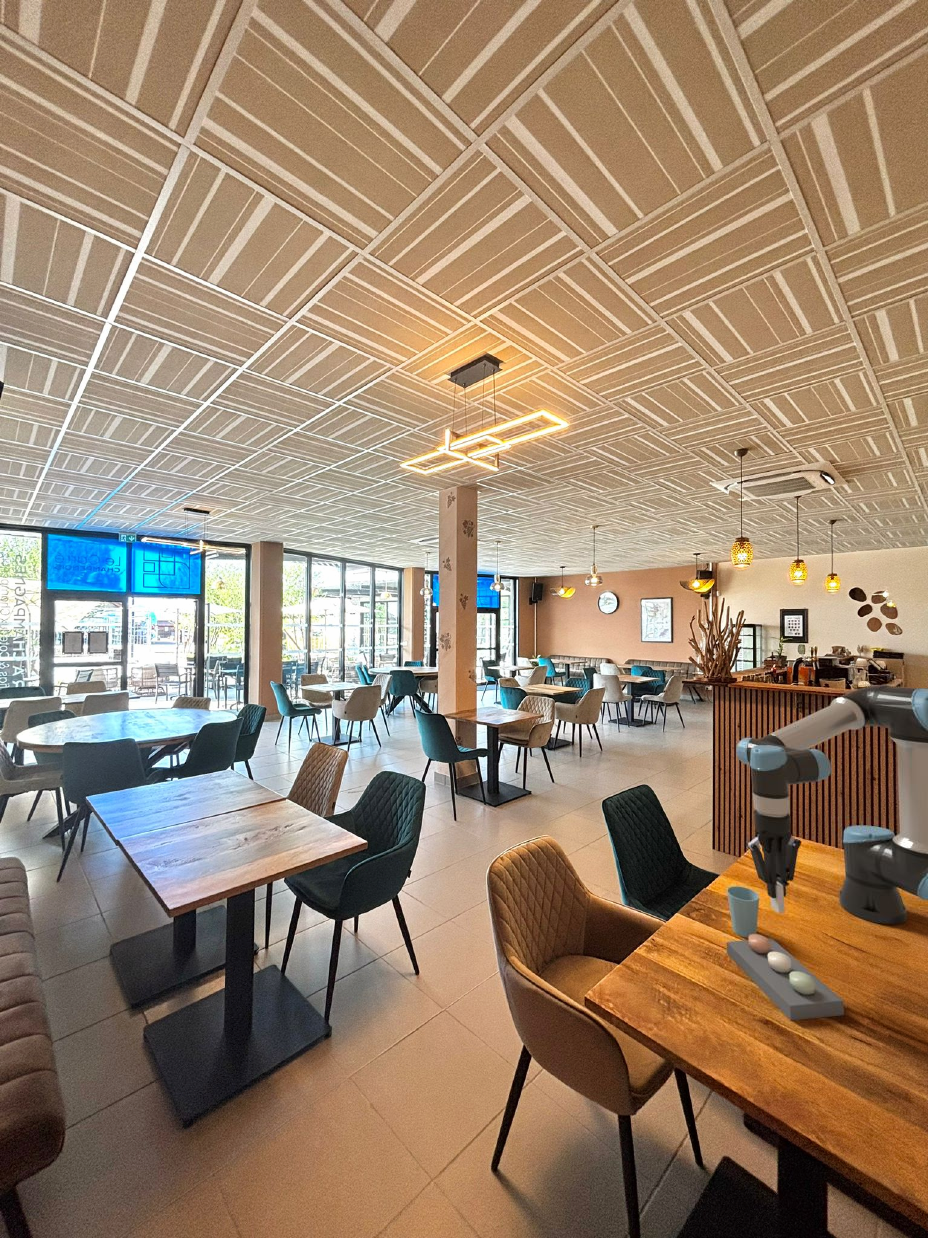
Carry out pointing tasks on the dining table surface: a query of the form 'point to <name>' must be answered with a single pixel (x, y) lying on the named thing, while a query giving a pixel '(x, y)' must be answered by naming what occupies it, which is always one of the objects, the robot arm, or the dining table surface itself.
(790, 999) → the gray rectangular slab
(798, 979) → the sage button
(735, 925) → the cup
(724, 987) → the dining table surface
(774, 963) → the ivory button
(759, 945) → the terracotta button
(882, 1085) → the dining table surface
